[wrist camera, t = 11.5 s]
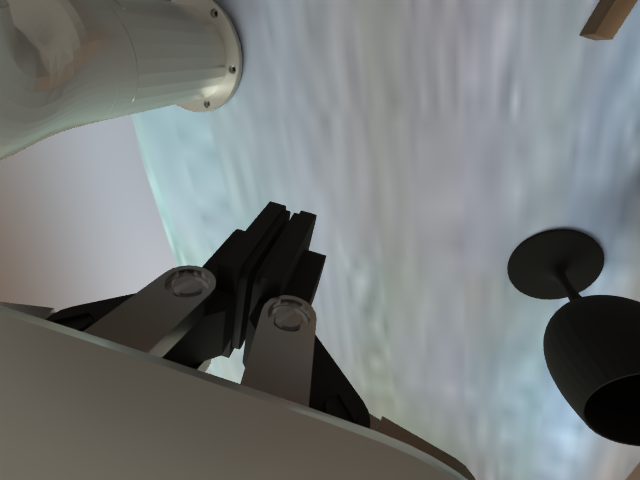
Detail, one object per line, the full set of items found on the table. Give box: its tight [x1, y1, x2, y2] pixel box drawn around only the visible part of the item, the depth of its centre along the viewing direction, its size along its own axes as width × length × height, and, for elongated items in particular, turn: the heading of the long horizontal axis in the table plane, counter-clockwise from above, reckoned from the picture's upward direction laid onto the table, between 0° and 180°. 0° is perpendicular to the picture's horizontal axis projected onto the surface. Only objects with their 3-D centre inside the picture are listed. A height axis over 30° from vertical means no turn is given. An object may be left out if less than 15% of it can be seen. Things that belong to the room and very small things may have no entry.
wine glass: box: [507, 229, 640, 446], centre depth 33 cm, size 10×10×20 cm
